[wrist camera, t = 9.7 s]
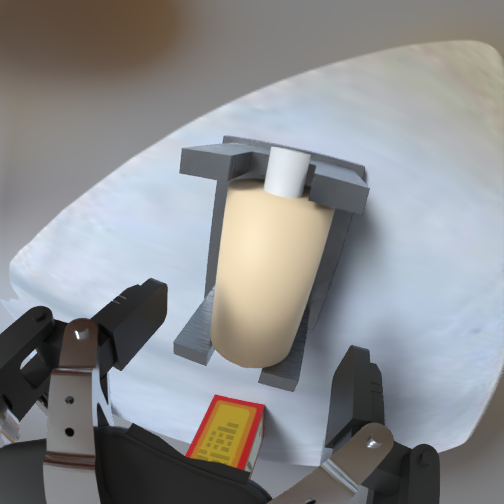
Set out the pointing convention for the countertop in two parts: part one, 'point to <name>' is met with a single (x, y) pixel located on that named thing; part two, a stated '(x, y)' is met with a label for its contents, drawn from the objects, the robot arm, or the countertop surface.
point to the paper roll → (267, 261)
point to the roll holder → (223, 170)
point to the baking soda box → (230, 433)
